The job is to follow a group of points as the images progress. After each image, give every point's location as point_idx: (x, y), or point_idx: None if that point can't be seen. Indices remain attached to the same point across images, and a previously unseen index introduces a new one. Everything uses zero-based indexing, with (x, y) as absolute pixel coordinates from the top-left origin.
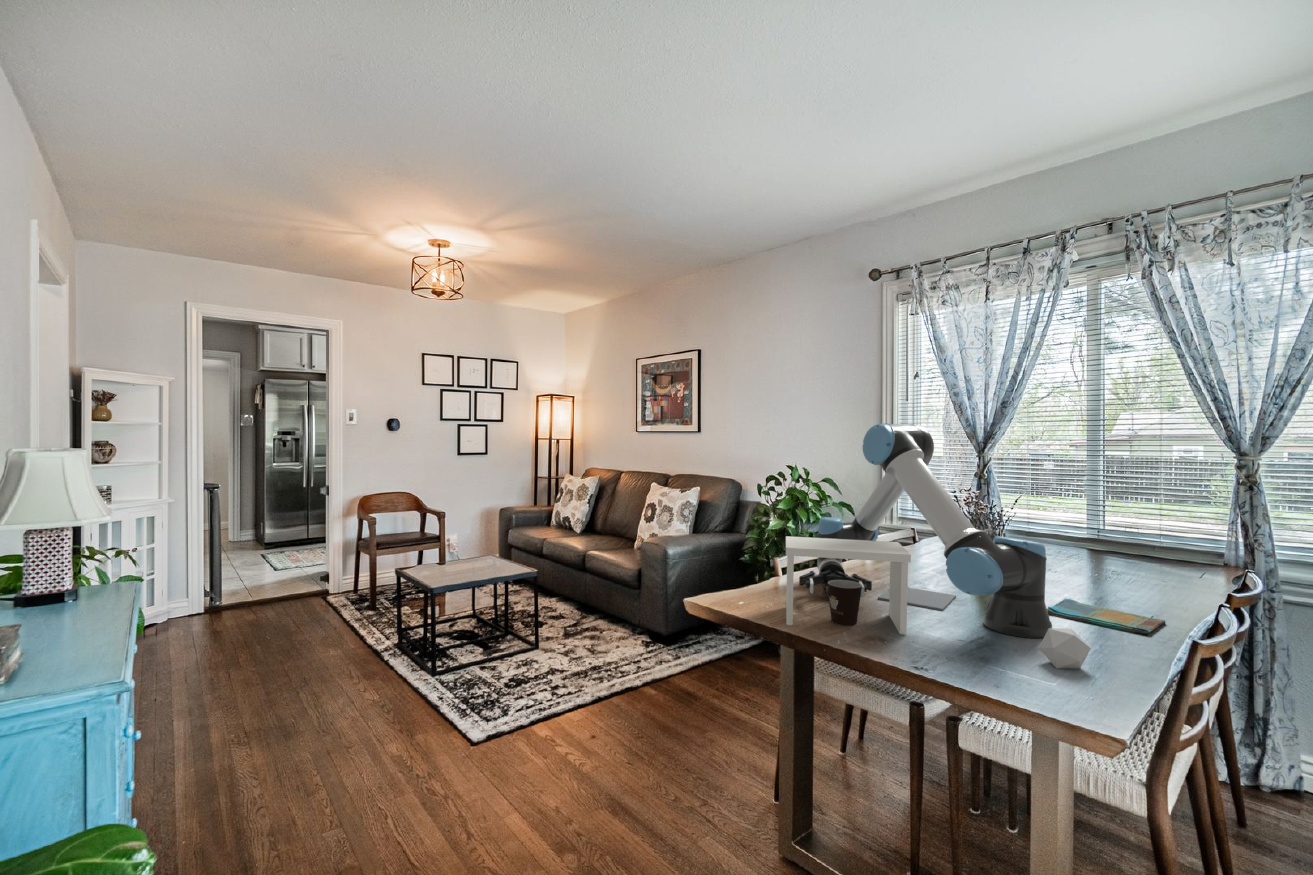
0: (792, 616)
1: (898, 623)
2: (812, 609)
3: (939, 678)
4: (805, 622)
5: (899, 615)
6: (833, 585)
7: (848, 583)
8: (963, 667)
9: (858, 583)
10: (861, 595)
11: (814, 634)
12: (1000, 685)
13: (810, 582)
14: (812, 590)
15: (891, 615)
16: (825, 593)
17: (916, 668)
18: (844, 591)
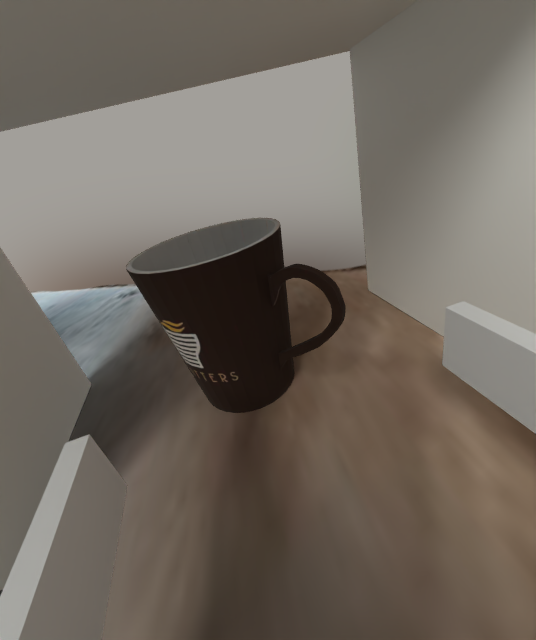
0: (367, 267)
1: (71, 382)
2: (439, 437)
3: (114, 289)
4: (354, 316)
5: (59, 350)
6: (266, 262)
7: (187, 281)
8: (56, 323)
9: (136, 270)
10: (122, 479)
11: (297, 287)
12: (44, 310)
13: (506, 324)
14: (447, 347)
15: (19, 521)
16: (331, 326)
17: (133, 292)
18: (210, 241)
